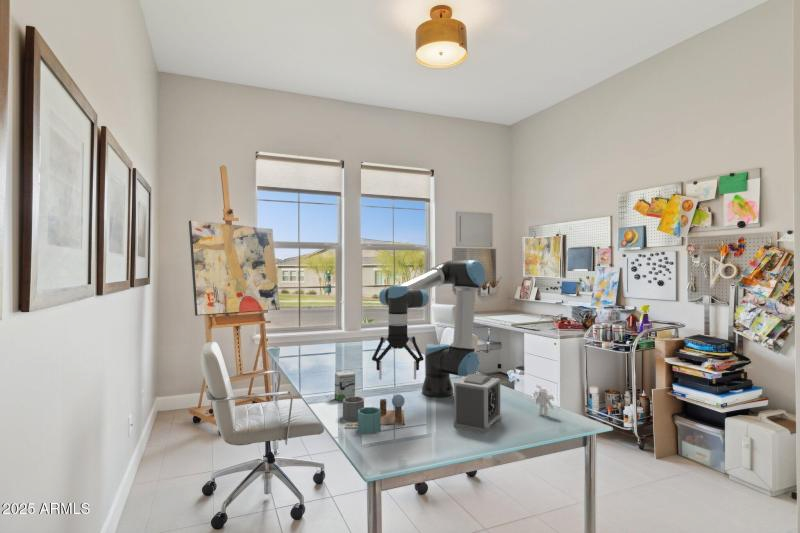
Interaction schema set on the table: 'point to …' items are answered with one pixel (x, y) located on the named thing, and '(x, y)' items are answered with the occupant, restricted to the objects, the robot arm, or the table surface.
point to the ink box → (344, 385)
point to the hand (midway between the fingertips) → (397, 378)
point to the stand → (391, 415)
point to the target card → (351, 425)
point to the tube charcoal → (352, 407)
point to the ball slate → (398, 400)
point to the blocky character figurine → (543, 400)
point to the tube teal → (369, 420)
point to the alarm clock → (476, 403)
